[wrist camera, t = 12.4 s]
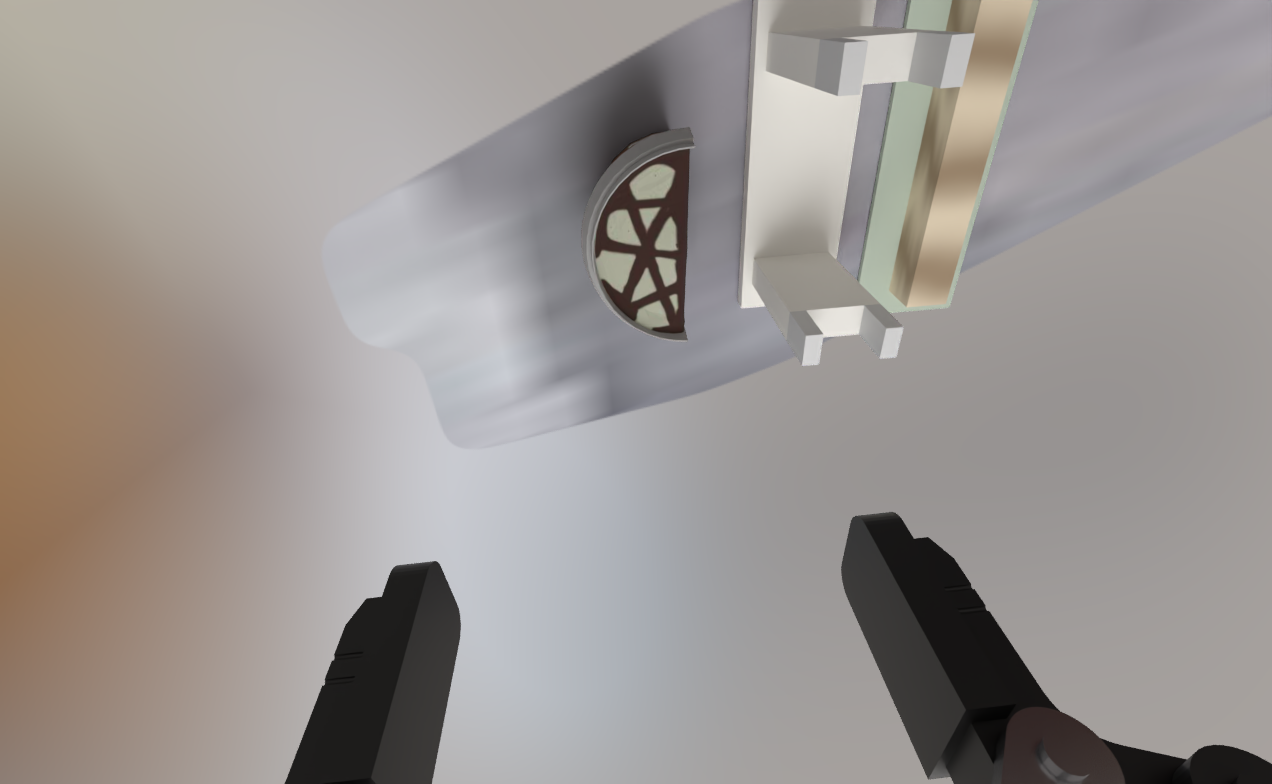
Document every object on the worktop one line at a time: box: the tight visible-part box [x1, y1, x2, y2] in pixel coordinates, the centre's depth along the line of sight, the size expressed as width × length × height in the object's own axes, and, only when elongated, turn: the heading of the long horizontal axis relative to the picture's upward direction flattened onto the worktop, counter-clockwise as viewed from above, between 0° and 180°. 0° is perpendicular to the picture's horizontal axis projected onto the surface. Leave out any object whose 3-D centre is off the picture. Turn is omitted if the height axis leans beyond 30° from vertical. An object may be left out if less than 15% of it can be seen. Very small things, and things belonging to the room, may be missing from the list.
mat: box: [857, 0, 1039, 313], centre depth 39 cm, size 24×8×1 cm, turn 3°
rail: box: [889, 0, 1033, 307], centre depth 37 cm, size 20×3×3 cm, turn 3°
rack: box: [738, 0, 975, 366], centre depth 33 cm, size 20×7×13 cm, turn 3°
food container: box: [581, 127, 695, 342], centre depth 35 cm, size 12×6×10 cm, turn 1°
